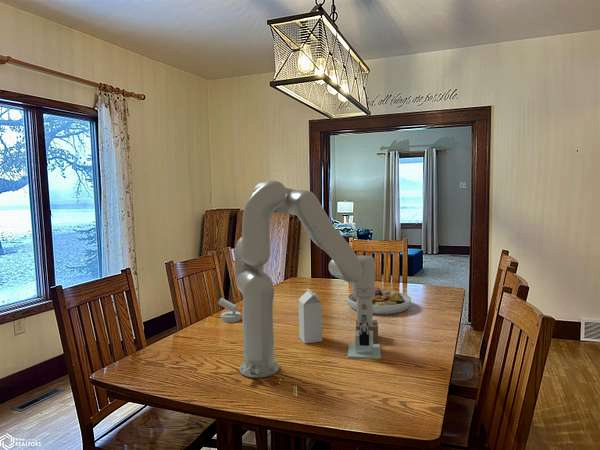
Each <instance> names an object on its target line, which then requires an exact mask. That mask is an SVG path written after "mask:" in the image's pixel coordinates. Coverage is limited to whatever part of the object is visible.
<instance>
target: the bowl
mask: <svg viewBox="0 0 600 450" xmlns="http://www.w3.org/2000/svg"><path fill="white" fill-rule="evenodd" d="M346 301H347V304H348V306H349V307H350V308H351V309H353V310H354V311H356V312H357V298H356V297H353V292H352V293H349V294H348V295H347V296H346ZM411 303H412V298H411V296H410V295H408V294H406V293H403V292H400V291H395V290H388V289H387V290H386V289H385V290H384V289H381V288H379V287H378V286H377V287H376V286H375V297H373V298H372V315H384V316H385V315H394V314H400V313H402V312H405V311H406V310H407V309H409V307H410V306H411Z"/></svg>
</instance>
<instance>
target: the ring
mask: <svg viewBox="0 0 600 450" xmlns="http://www.w3.org/2000/svg"><path fill="white" fill-rule="evenodd" d="M359 333H360V330H356V329H355V333H354V335H355V336H354V339H355V340H354V342H355V353H366V354H373V344H374V343H373V331H368V334H369V346H360V341H359Z"/></svg>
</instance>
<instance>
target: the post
mask: <svg viewBox="0 0 600 450" xmlns="http://www.w3.org/2000/svg"><path fill="white" fill-rule="evenodd" d="M372 325H373V326H372V327H371V326H369V331H373V344H378V343H379V325H378V319H372ZM356 330H360V327H359V326H358V319H356V320H355V331H356Z"/></svg>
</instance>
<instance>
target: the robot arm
mask: <svg viewBox="0 0 600 450" xmlns="http://www.w3.org/2000/svg"><path fill="white" fill-rule="evenodd" d="M275 211H276V212H280V213H284V214H288V215H292V216H293V215H294V216H297V218H298V220H299V221H300V223H301V225H302V226H303V228H304V230H305V231H306V233H307V234H308V236H309V239H311V241H312V242H313V243H314V244H315V245H316V246H317V247H318V248H320V249H321V250H323V251H324V252H325V253H326V254H327V255H328V257H330V259H331V260H330V261H329V263H328V271H329V273H330V274H331V276H333V277H335V278H336V279H339V280H342V281H344V282H346V283H352V293H353V297H356V298H357V311H356V316H357V317H356V318H357V319H356V320H358V326H359V327H360V333H359V341H360V346H369V334H368V331H369V326H371V327H372V326H373V325H372V320H373V314H372V298H373V297H375V288H376V263H375V258H374V257H373V256H371V255H357V253H356V252H355V250H354V248H352V246H351V245H350V244H349V242H348V241H347V240H346V238H344V236H342V234H341V233H340V232H339V230H338V229H336V227H335V226H334V224H333V223H332V221H331V220H330V218H329V216H328V214H327V213H326V211H325V209H324V207H323V206H322V204H321V202H320V201H319V199H318V198H317V195H316V194H315V193H314V192H312V191H310V190H306V189H304V190H303V189H302V190H298V189H292V188H288V187H285V185H284V184H283V183H282V182H280V181H277V180H267V181H262V182H258V183H257V184H256V185H255V186H254V188H253V190H252V194H251V196H249V198H248V200H247V201H246V203H245V205H244V207H243V211H242V212H243V213H242V217H241V218H242V221H241V222H242V223H241V226H242V228H241V237H240V238H239V239H238V240H237V242H236V244H235V247H234V269H235V271H234V272H235V274H234V275H235V284H236V287H237V289H238V290H239V291H240V293H241V294H242V299H243V300H242V333H243V334H242V337H243V362H242V363H241V364H240V365H239V370H238V371H239V372H240V374H241V375H243V376H245V377H247V378H258V379H260V378H267V377H270V376H273V375H275V374H277V373H278V371H279V370H280V363H279V362H278V361H276V360H275V344H274V342H275V340H274V337H275V335H274V332H275V331H274V297H275V286H274V285H275V284H274V282H273V280H272V278H271V277H270V275H269V274H267V273H266V272H264V266H265V265H266V264H267V263H268V262H269V260H270V258H271V239H270V238H271V237H270V235H271V234H270V233H271V232H270V229H271V228H270V227H271V218H272V216H273V213H274V212H275Z"/></svg>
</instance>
